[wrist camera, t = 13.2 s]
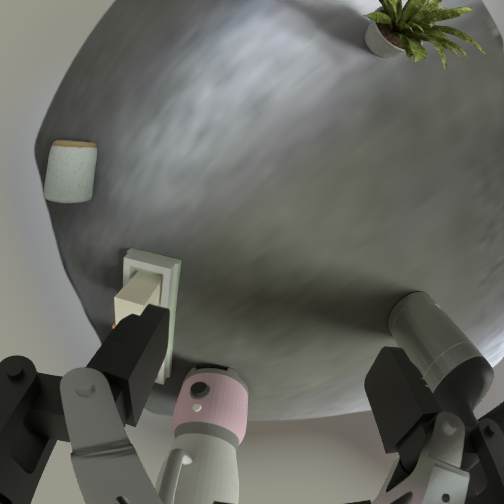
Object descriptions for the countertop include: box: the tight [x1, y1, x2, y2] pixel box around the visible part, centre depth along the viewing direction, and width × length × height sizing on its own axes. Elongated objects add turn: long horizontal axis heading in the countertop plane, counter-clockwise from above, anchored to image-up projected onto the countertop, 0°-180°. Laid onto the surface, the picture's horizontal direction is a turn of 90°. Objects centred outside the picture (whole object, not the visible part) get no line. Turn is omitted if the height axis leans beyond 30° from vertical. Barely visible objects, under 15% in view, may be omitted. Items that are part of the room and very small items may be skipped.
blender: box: [155, 367, 249, 504], centre depth 32 cm, size 16×12×32 cm
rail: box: [123, 248, 182, 385], centre depth 38 cm, size 8×23×10 cm, turn 167°
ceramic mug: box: [44, 140, 97, 203], centre depth 31 cm, size 11×8×8 cm
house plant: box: [364, 0, 487, 69], centre depth 19 cm, size 14×14×16 cm
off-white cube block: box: [112, 271, 163, 329], centre depth 35 cm, size 6×6×8 cm
